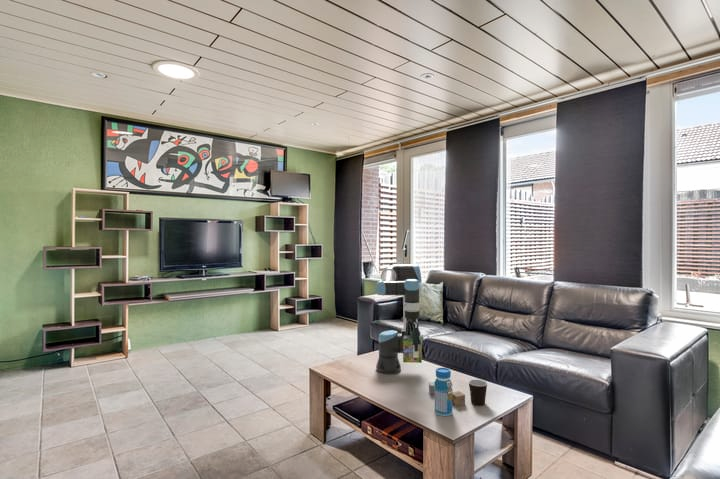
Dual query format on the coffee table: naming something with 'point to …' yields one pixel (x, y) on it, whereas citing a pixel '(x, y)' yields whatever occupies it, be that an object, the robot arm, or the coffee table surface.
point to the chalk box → (410, 349)
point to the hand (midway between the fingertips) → (412, 353)
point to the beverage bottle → (443, 392)
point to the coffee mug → (478, 392)
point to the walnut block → (458, 398)
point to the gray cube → (431, 388)
